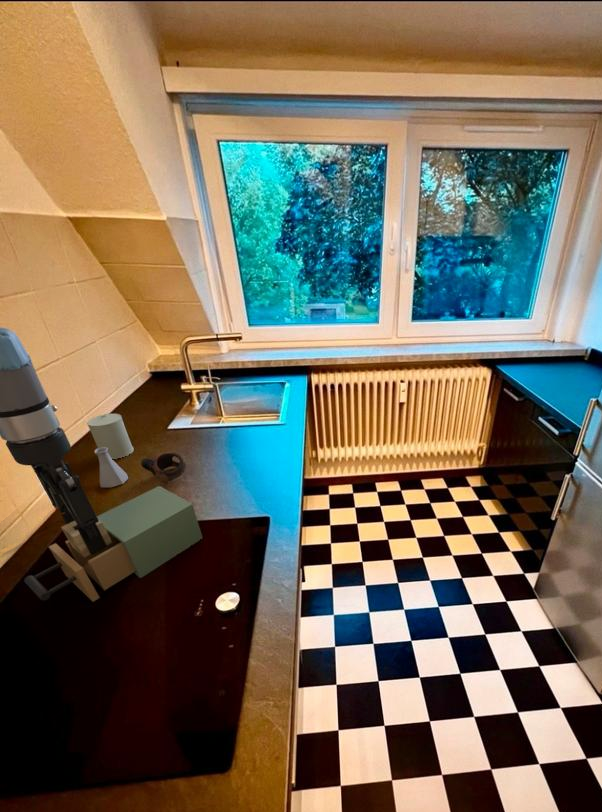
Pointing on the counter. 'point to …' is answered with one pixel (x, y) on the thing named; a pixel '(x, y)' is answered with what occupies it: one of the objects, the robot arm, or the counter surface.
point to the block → (77, 540)
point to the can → (111, 434)
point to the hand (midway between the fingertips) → (91, 543)
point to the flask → (109, 469)
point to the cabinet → (153, 528)
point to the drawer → (86, 569)
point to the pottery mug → (165, 466)
